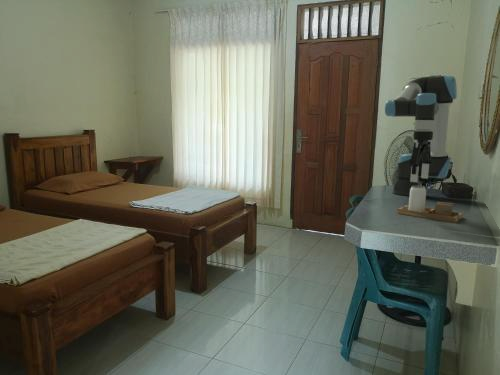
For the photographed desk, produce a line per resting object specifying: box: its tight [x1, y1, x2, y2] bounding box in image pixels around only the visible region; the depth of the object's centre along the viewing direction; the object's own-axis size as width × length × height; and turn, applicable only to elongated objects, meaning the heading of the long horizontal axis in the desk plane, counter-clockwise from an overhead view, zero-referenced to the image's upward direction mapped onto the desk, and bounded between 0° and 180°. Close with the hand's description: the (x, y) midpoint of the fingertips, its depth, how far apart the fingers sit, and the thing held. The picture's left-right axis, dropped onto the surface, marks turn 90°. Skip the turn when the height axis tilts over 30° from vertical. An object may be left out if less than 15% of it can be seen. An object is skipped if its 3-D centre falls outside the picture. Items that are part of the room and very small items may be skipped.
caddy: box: [397, 204, 464, 224], centre depth 166 cm, size 12×23×3 cm, turn 48°
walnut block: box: [434, 201, 454, 217], centre depth 162 cm, size 6×6×6 cm
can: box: [408, 185, 427, 212], centre depth 169 cm, size 6×6×12 cm
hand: (419, 180), depth 168 cm, fingers open, 13 cm apart
